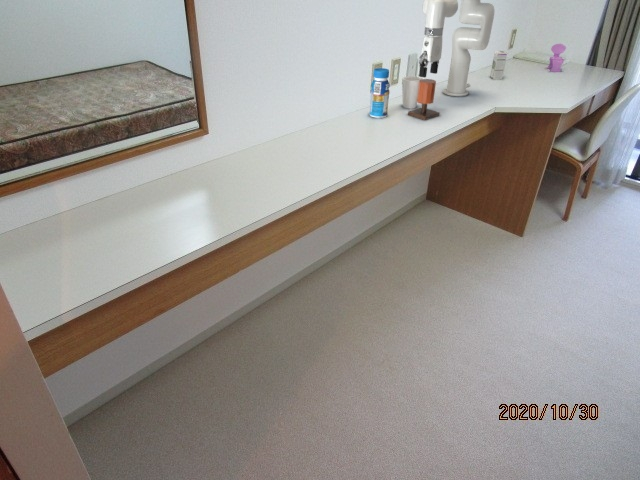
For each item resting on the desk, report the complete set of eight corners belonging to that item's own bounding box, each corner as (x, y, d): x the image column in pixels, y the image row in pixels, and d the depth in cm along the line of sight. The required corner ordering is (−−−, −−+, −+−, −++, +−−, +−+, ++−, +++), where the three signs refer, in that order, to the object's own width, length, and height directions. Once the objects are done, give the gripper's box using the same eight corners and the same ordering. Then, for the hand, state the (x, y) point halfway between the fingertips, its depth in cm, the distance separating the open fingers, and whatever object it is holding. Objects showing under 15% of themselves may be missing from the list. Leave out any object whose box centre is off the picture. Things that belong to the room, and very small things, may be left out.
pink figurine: (548, 71, 277) (555, 45, 269) (544, 68, 285) (551, 43, 277) (562, 72, 276) (569, 46, 268) (558, 69, 284) (565, 43, 275)
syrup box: (502, 79, 262) (508, 52, 254) (492, 79, 262) (497, 52, 254) (499, 76, 267) (504, 50, 259) (489, 76, 267) (494, 50, 259)
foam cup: (419, 110, 212) (422, 81, 205) (399, 108, 214) (401, 80, 207) (419, 104, 220) (422, 76, 213) (400, 103, 221) (402, 75, 214)
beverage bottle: (365, 113, 207) (368, 68, 196) (381, 111, 210) (385, 66, 199) (374, 119, 201) (377, 72, 190) (391, 116, 203) (395, 70, 193)
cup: (423, 98, 206) (426, 78, 201) (436, 101, 202) (439, 81, 197) (413, 101, 202) (415, 80, 198) (426, 104, 198) (428, 83, 193)
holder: (421, 110, 211) (425, 78, 203) (439, 115, 205) (443, 82, 197) (407, 114, 206) (411, 82, 198) (424, 120, 200) (429, 86, 192)
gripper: (431, 35, 179) (425, 79, 188) (451, 30, 190) (445, 73, 199) (414, 33, 183) (410, 77, 192) (435, 29, 194) (430, 70, 203)
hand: (428, 75), depth 196 cm, fingers open, 9 cm apart
